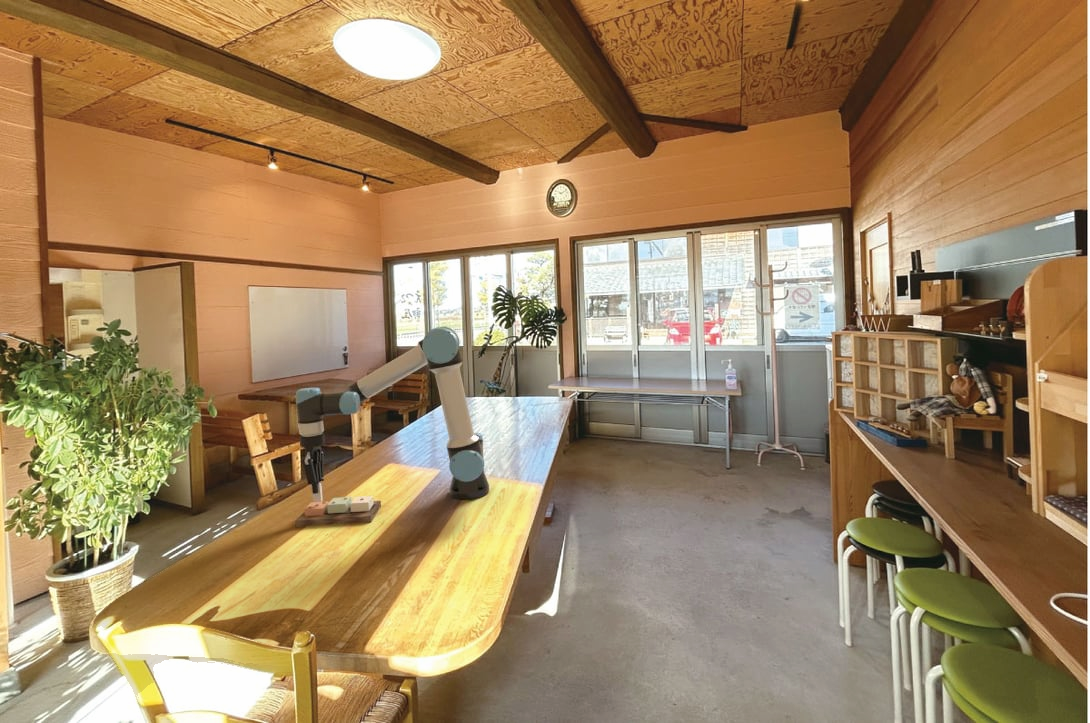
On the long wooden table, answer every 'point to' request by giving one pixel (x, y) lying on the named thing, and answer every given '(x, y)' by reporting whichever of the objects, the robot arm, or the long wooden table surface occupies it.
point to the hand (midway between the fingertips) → (317, 501)
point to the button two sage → (339, 505)
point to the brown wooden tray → (339, 517)
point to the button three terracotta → (316, 508)
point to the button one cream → (361, 503)
